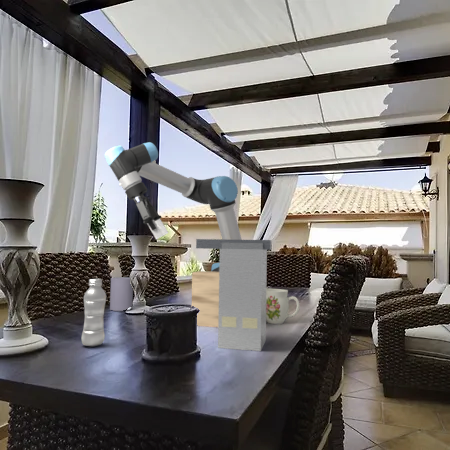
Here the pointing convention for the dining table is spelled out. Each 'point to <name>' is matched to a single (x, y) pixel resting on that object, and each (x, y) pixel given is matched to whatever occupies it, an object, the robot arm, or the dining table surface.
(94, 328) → the plastic bottle
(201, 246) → the bar
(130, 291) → the container
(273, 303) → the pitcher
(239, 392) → the dining table surface
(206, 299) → the oak side stand
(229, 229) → the robot arm
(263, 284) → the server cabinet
